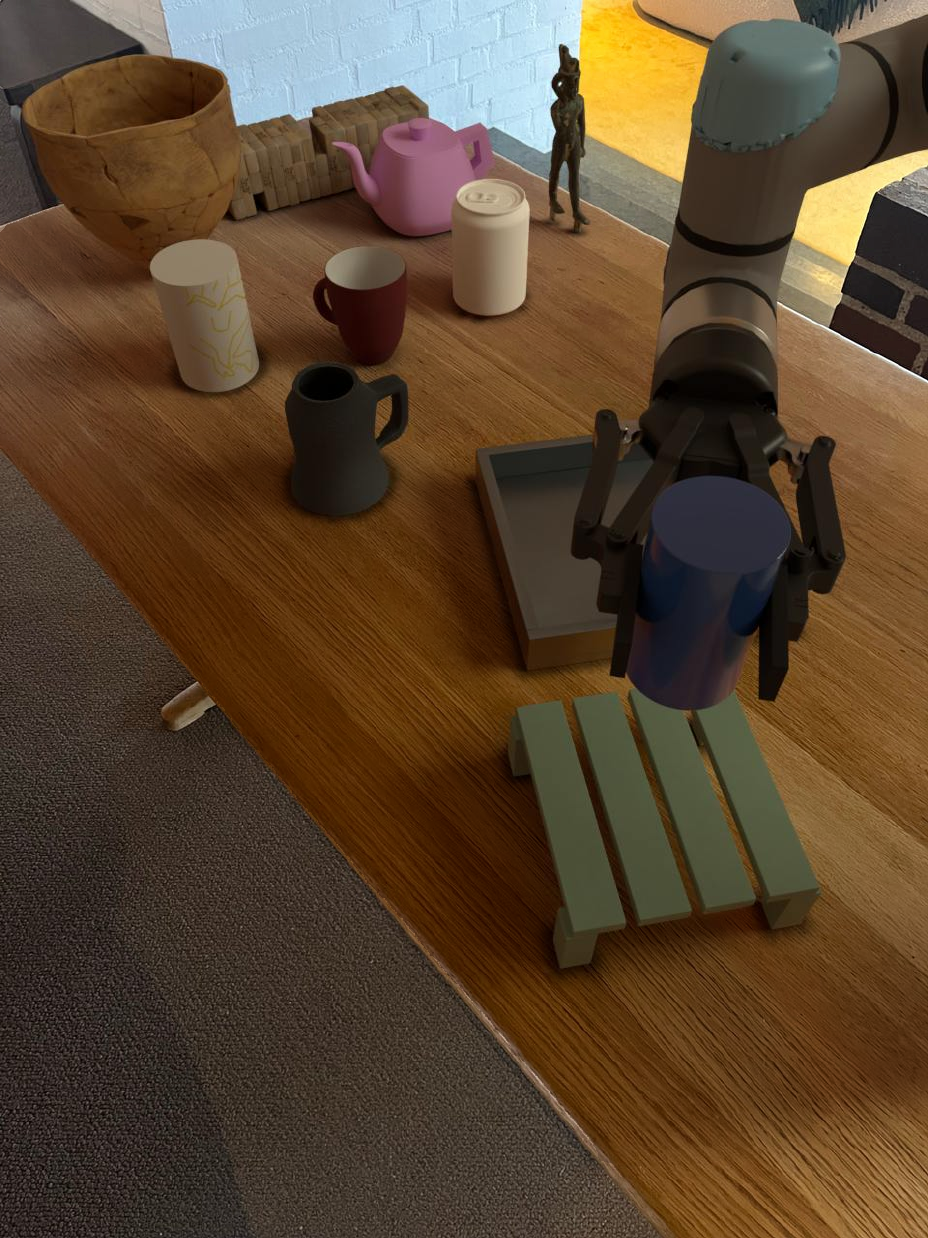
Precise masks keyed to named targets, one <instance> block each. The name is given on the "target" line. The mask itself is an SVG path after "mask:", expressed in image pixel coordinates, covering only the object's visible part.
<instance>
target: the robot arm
mask: <svg viewBox="0 0 928 1238" xmlns="http://www.w3.org/2000/svg"><path fill="white" fill-rule="evenodd" d="M698 83H699V84H698V89H697V92H696V97H695V101H694V103H693V104H692V107H691V115H690V123H691V128H690V133H689V140H688V148H687V153H686V158H685V159H686V160H685V165H684V171H683V176H682V177H683V178H682V182H681V183H682V184H681V189H680V197H679V203H678V209H677V214H676V216H675V217H674V218H675V220H674V224H673V231H672V236H671V242H670V245H669V246H668V249H667V252H666V260H665V265H664V267H663V277H662V278H663V279H662V281H663V292H662V302H661V303H662V305H661V315H660V321H659V325H658V330H657V338H656V346H655V353H654V361H653V372H652V376H651V377H652V378H651V386H650V392H649V401H648V407H647V408H646V409H645V410H644V411H643V412H642V413H641V414H640V416H639V418H638V419H637V418H636V419H635V418H634V419H618V415H617V413H616V412H615V411H614V410H612V409H609V408H608V409H607V408H603V409H600V410H597V412H596V413H595V419H594V428H593V443H592V451H593V455H594V457H593V460H592V463H591V466H590V469H589V473H588V476H587V479H586V482H585V485H584V489H583V492H582V495H581V498H580V501H579V505H578V508H577V511H576V514H575V517H574V525H573V533H572V542H571V554H572V556H573V557H575V558H577V559H579V560H585V559H588V558H592V559H594V560H596V561H597V562H598V563H599V564H600V566H601V575H600V582H599V589H598V595H597V602H596V605H597V608H598V611H599V612H603V613H609V614H616V615H617V622H616V630H615V638H614V645H613V653H612V658H611V662H610V669H609V677H613V678H619V679H626V675H627V673H626V671H627V666H628V661H629V656H630V652H631V647H632V640H633V631H634V623H635V614H636V606H637V597H638V588H639V580H640V571H641V562H642V554H643V546H644V545H641V544H640V543H641V542H642V540H643V539H644V537H645V536H646V534H647V532H648V527H649V522H650V517H651V512H652V509H653V505H654V503H655V501H656V500H657V498H658V497H659V496H660V494H661V493H662V492H663V491H664V490H666V489H667V488H668V487H670V486H671V485H673V484H675V483H677V482H679V481H682V480H685V479H688V478H692V477H698V476H722V477H729V478H734V479H738V480H741V481H744V482H747V483H749V484H752V485H754V486H756V487H758V488H760V489H761V490H763V491H764V492H766V493H767V494H769V495H770V496H771V497H772V498H773V499H775V500H776V501H777V502H778V503H779V505H780V506H781V507H782V508H783V510H784V512H785V513H786V515H787V517H788V520H789V523H790V527H791V539H790V543H789V546H788V549H787V551H786V554H785V557H784V560H783V562H782V565H781V568H780V570H779V573H778V576H777V578H776V581H775V584H774V587H773V589H772V592H771V595H770V597H769V600H768V603H767V605H766V608H765V611H764V614H763V616H762V619H761V622H760V624H759V636H758V686H757V687H758V689H757V698H758V700H761V701H766V702H767V701H768V702H772V703H774V702H776V699H777V697H778V695H779V692H780V690H781V687H782V685H783V683H784V681H785V679H786V676H787V673H788V671H789V670H790V657H789V656H790V653H789V652H790V650H789V649H790V648H789V647H790V645H789V641H790V642H794V643H798V642H799V639H800V638H801V636H802V634H803V631H804V629H805V627H806V625H807V622H808V620H809V618H810V609H809V591H812V592H813V593H816V594H819V595H828V594H830V593H831V592H832V591H833V590H834V589H833V588H834V586H835V584H836V582H837V579H838V577H839V575H840V573H841V571H842V568H843V566H844V563H845V561H846V559H847V553H846V547H845V543H844V542H845V541H844V537H843V531H842V526H841V520H840V516H839V511H838V505H837V499H836V495H835V489H834V485H833V479H832V475H831V474H832V472H831V468H830V463H831V459H832V457H833V455H834V452H835V449H836V446H837V443H836V441H835V440H834V438H832V437H831V436H827V435H819V436H816V437H815V438H814V439H813V441H812V444H809V443H806V442H803V441H799V440H796V439H793V438H789V437H788V432H787V429H786V428H785V427H784V425H782V423H781V422H780V420H779V374H778V371H779V370H778V369H779V354H778V353H779V352H778V349H779V348H778V347H779V346H778V297H779V290H780V284H781V281H782V277H783V272H784V269H785V266H786V262H787V258H788V254H789V251H790V247H791V243H792V239H793V237H794V235H795V232H796V228H797V223H798V219H799V216H800V213H801V210H802V206H803V203H804V199H805V196H806V194H807V192H808V191H809V190H812V189H815V188H817V187H820V186H822V185H825V184H828V183H830V182H833V181H836V180H838V179H841V178H844V177H847V176H849V175H852V174H855V173H858V172H860V171H863V170H865V169H867V168H869V167H872V166H875V165H879V164H881V163H884V162H888V161H891V160H893V159H896V158H899V157H903V156H906V155H910V154H914V153H917V152H922V151H923V152H924V151H927V150H928V13H927V14H924V15H921V16H919V17H916V18H913V19H910V20H907V21H904V22H903V23H900V24H897V25H894V26H893V25H892V26H890V27H887V28H884V29H881V30H878V31H875V32H873V33H869V34H866V35H863V36H860V37H857V38H855V39H852V40H848V41H844V42H840V43H838V42H837V40H836V39H835V38H834V37H833V35H831V34H830V33H829V32H828V31H825V30H824V29H821V28H819V27H817V26H815V25H814V24H810V23H808V22H807V23H806V22H803V21H798V20H794V19H785V18H771V19H769V20H760V19H759V20H758V19H750V20H749V19H748V20H745V21H741V22H737V23H735V24H733V25H731V26H729V27H727V28H725V29H724V30H723V31H721V32H720V33H718V35H716V37H715V38H714V39H713V41H712V42H711V44H710V46H709V48H708V51H707V52H706V57H705V62H704V66H703V70H702V74H701V76H700V79H699V82H698ZM637 442H638V444H639V445H640V446H641V448H642V449H643V450H644V451H645V452H646V453H647V454H648V456H649V457H650V458H651V459H652V460H653V461H654V463H653V464H652V466H651V467H650V469H649V470H648V472H647V473H646V475H645V476H644V478H643V479H642V480H641V482H640V483H639V485H638V486H637V488H636V489H635V491H634V492H633V494H632V495H631V497H630V498H629V500H628V501H627V503H626V504H625V506H624V507H623V509H622V510H621V512H620V513H619V515H618V516H617V517H616V519H615V520H614V522H613V523H612V525H611V526H610V528H609V527H606V526H604V525H601V523H602V519H603V516H604V512H605V509H606V505H607V502H608V498H609V495H610V491H611V488H612V484H613V481H614V477H615V473H616V467H617V461H621V460H623V456H624V455H625V454H627V453H628V452H629V451H630V446H631V445H632V444H634V443H637ZM779 461H780V462H783V463H784V464H785V465H786V467H787V472H788V474H789V475H790V479H789V482H790V483H791V484H793V485H797V486H796V489H795V503H796V509H797V516H798V523H799V530H800V535H799V533H798V531H797V528H796V527H795V525H794V522H793V520H792V518H791V516H790V515H789V512H788V510H787V508H786V506H785V504H784V502H783V500H782V498H781V496H780V493H779V492H778V490H777V487H776V485H775V484H774V481H773V479H772V477H771V475H770V468H772V467H773V466H774V465H776V464H777V463H778V462H779ZM800 536H801V537H800Z"/></svg>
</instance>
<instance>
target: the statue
mask: <svg viewBox="0 0 928 1238" xmlns="http://www.w3.org/2000/svg"><path fill="white" fill-rule="evenodd" d="M558 58H559V67H558V69H557V72H556V73H555V74H554V75H553V76H552V79H551V82H550V83H551V84H550V85H551V89H552V91H553V93H554V94H555V96H556V97H557V98H556V99H555V100H554V101H553V102H552V104H551V105H550V108H549V111H550V113H549V114H550V118H551V123H552V125H553V128H554V130H555V133H554V136H553V137H552V138H553V139H552V143H551V155H550V170H549V173H548V197H549V198H548V199H549V200H548V206H549V218H550V221H552V222H556V221H557V218H558V215H563V214H565V212H566V211H565V209H564V208H563V207H562V205H561V204H560V203H559V201H558V190H559V189H558V188H559V184H560V183H559V182H560V171H561V169H562V166H563V165H564V162H566V166H567V172H568V181H567V182H568V183H567V185H568V187H567V188H568V193H569V199H570V204H571V205H570V206H571V210H572V218H573V232H574V233H575V234H580V233H581V232H582V226H583V225H584V226H590V225H591V224H592V223H591V220H590V219H589V218H588V217H586V216H585V215H584V214H583V212H582V210H581V206H580V180H579V179H580V174H579V173H580V167H581V166H580V165H581V159H584V157H585V156H586V155H587V152H586V151H587V150H586V149H585V141H586V140H585V139H586V110H585V108H586V107H585V98H584V96H583V95H582V94H581V93H579V92H580V79H581V75H582V71H581V69H580V60H579V59H578V58H577V57H573V56H572V55H571V53H570V49H569V47H568V46H567V45H565V44H563V43H559V45H558ZM560 83H561V84H560Z"/></svg>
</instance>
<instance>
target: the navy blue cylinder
mask: <svg viewBox="0 0 928 1238" xmlns="http://www.w3.org/2000/svg"><path fill="white" fill-rule="evenodd" d="M790 539H791V527H790V523H789V520H788V517H787V515H786V513H785V512H784V510H783V508H782V507H781V506H780V505H779V503H778V502H777V501H776V500H775V499H773V498H772V497H771V496H770V495H769V494H767V493H766V492H764V491H763V490H761V489H760V488H758V487H756V486H754V485H752V484H749V483H747V482H744V481H741V480H738V479H734V478H729V477H722V476H698V477H692V478H688V479H685V480H682V481H679V482H677V483H675V484H673V485H671V486H670V487H668V488H667V489H666V490H664V491H663V492H662V493H661V494H660V496H659V497H658V498H657V500H656V501H655V503H654V505H653V509H652V512H651V517H650V522H649V527H648V532H647V537H646V542H645V547H644V552H643V557H642V562H641V571H640V580H639V588H638V597H637V606H636V614H635V623H634V631H633V640H632V647H631V652H630V656H629V661H628V666H627V671H626V675H627V677H628V679H629V681H630V682H631V684H632V686H634V688H635V689H638V690H639V691H640V692H641V693H642V694H643V695H644V696H646V697H647V698H649V699H650V700H652V701H653V702H655V703H658V704H660V705H662V706H665V707H668V708H672V709H677V710H683V711H686V712H687V711H690V712H691V711H693V710H702V709H706V708H709V707H713V706H715V705H717V704H719V703H721V702H722V701H724V700H725V699H726V698H727V697H729V696H730V695H731V693H732V692H733V691H735V689H736V688H737V686H738V684H739V681H740V678H741V675H742V673H743V671H744V667H745V664H746V662H747V659H748V656H749V655H750V651H751V648H752V647H753V643H754V640H755V638H756V636H755V635H756V632H757V630H758V627H759V624H760V622H761V619H762V616H763V614H764V611H765V608H766V605H767V603H768V600H769V597H770V595H771V592H772V589H773V587H774V584H775V581H776V578H777V576H778V573H779V570H780V568H781V565H782V562H783V560H784V557H785V554H786V551H787V549H788V546H789V543H790Z"/></svg>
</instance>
